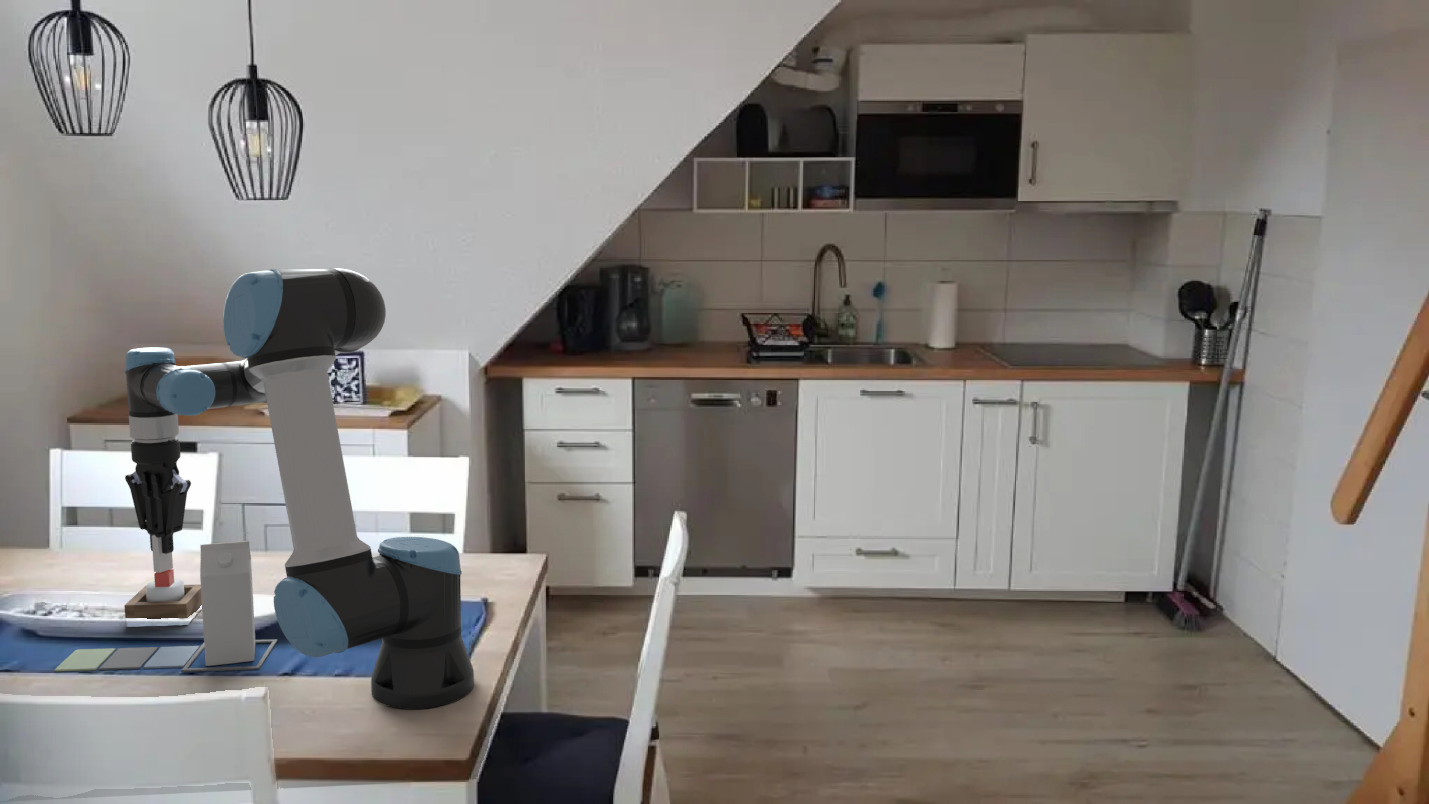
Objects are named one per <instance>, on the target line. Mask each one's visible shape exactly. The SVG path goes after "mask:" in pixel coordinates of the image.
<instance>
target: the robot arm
mask: <svg viewBox="0 0 1429 804" xmlns="http://www.w3.org/2000/svg"><path fill="white" fill-rule="evenodd" d="M386 312H387V311H386V305H385V301H384V298H383V295H382V294H381V291H380V290H379V289H378V287H377V286H376V284H374V283H373V281H372V280H371V279H369V278H368V277H366V276H365V275H362V274H361V273H359V272H356V271H353V270H351V269H346V268H345V269H344V268H338V267H337V268H334V267H333V268H317V269H316V268H311V269H310V268H305V269H304V268H302V269H301V268H300V269H299V268H297V269H296V268H294V269H293V268H291V269H288V268H286V269H285V268H284V269H275V268H271V269H267V270H259V271H251V272H246V273H244V274H242V275H240V276H239V277H238V278H236V280H235V281H234V282H233V283H232V284H231V286H230V288H229V290H228V292H227V296H226V298H225V303H224V306H223V313H222V314H223V315H222V316H223V317H222V322H223V326H222V327H223V334H224V338H225V341H226V345H227V346H229V350H230V351H231V353H232V354H234V355H235V356H238V357H240V358H242V359H243V360H236V361H226V362H218V363H208V364H207V363H206V364H205V363H204V364H196V365H195V364H193V365H186V366H185V365H180V366H179V365H177V361H176V358H175V353H174V351H173V350H172V349H171V348H169V347H151V346H150V347H140V348H132V349H130V350H129V351H127V353H126V354H125V370H124V374H125V379H126V381H125V382H126V392H127V403H128V424H129V437H130V438H132V439H133V440H131V442H130V450H131V451H130V453H131V454H130V455H131V461H132V462H133V463H135V464H136V465H135V471H134V472H133V473H130V474H126V475H125V476H124V480H125V481H126V484H127V485H128V487H129V490H130V494H131V497H132V499H131V500H132V502H133V506H134V510H135V515H136V519H137V523H138V527H139V529H140V530H145V531H146V532H147V535H149V543H150V549H151V552H152V561H153V564H152V565H153V572H154V573H156V572H159V573H161V572H164V571H167V570H170V569H174V566H173V565H174V564H173V552H174V548H175V547H174V534H175V533H178V532H180V531H182V530H183V526H184V518H185V512H186V511H185V510H186V505H187V503H186V502H187V497H188V492H189V490H190V488H191V486H192V482H191V480H190V479H185V480H184V479H183V478H182V477H181V476H180V469H179V468H178V465H177V462H178V461H179V459H180V458H181V442H180V441H181V440H180V438H179V437H178V435H179V434H180V430H179V429H180V428H179V427H180V426H179V416H187V417H188V416H190V417H194V416H198V415H200V414H203V413H204V412H206V411H207V410H211V409H221V408H227V407H228V408H229V407H234V406H243V405H253V404H260V403H261V404H266V405H267V410H268V416H269V420H270V422H269V423H270V426H271V430H272V431H271V433H272V437H273V443H274V449H275V455H276V460H277V465H278V471H279V474H280V475H279V477H280V482H281V487H282V491H283V492H282V493H283V497H284V503H285V507H286V514H287V519H288V520H287V521H288V524H289V530H290V535H291V536H290V537H291V542H292V547H293V550H292V552H291V554H290V556H289V558H288V559H287V560H286V562H285V563H284V569H285V573H286V577H284V578H283V579H282V580H280V581H279V582H278V583H277V585H276V586H275V588H274V591H273V592H274V596H273V607H274V613H275V617H276V620H277V622H278V624H279V628H280V629H281V632H282V633H283V635H284V637H285V638H286V640H287V641H288V642H289V643H290V644H291V645H292V646H293V648H294V649H295V650H296V651H298V652H299V653H301V654H303V655H305V657H309V658H320V657H324V656H328V655H332V654H342V653H343V652H345V651H347V650H349V649H352V648H355V647H359V646H361V645H365V644H368V643H371V642H375V641H377V640H381V645H380V649H379V652H378V655H377V658H376V660H375V665H374V668H373V671H372V675H371V679H370V684H371V686H370V687H371V696H372V697H373V699H374V700H375V701H377V702H378V703H380V704H382V705H384V706H387V707H390V708H391V707H393V708H395V709H396V708H397V709H407V710H408V709H409V710H410V709H411V710H412V709H413V710H415V709H416V710H418V709H429V708H436V707H441V706H444V705H448V704H451V703H453V702H456V701H459V700H460V699H462V698H464V697H466V696H467V695H469V693H470V692H471V691H472V690H473V688H474V685H475V678H474V677H475V673H474V666H473V665H472V662H471V661H472V660H471V659H470V656H469V654H468V651H467V648H466V645H465V642H464V641H463V640H464V639H463V637H462V599H461V598H462V597H461V595H462V594H461V590H462V589H461V575H462V570H461V559H460V552H459V551H458V549H457V547H456V546H455V545H454V544H452V543H451V542H447V541H445V540H442V539H437V538H432V537H431V538H430V537H424V536H423V537H422V536H421V537H420V536H398V537H397V536H395V537H390V538H386V539H384V540H382V541H381V542H380V543H379V546H378V548H377V552H378V554H379V555H377V556H374V557H373V554H372V548H371V546H370V545H369V544H367V543H366V542H364V541H362V540H361V539H360V538H359V537H358V534H357V527H356V523H355V517H354V510H353V506H352V500H351V495H350V489H349V484H348V479H347V473H346V467H345V463H344V458H343V457H344V456H343V451H342V445H341V441H340V435H339V430H338V423H337V419H336V414H335V413H336V412H335V407H334V402H333V396H332V392H331V385H330V380H329V374H328V372H329V370H330V368H331V367H332V365H333V364H334V362H335V361H336V360H337V355H339V354H351V353H354V352H356V351H358V350H360V349H362V348H363V347H365V346H366V345H368V344H369V343H372V341H374V340H375V339H376V338H377V337H378V335H379V334H380V333H381V331H382V329H383V327H384V324H385V320H386V314H387V313H386Z"/></svg>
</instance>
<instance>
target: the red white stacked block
mask: <svg viewBox="0 0 1429 804" xmlns="http://www.w3.org/2000/svg"><path fill="white" fill-rule="evenodd" d="M174 573H175V571H174V568H172V569H170V570H167V571H164V572H161V573H159V572H154V574H153V575H154V581H151V582H149V583H147V584H146V585H145V586H146V599H147V602H160V601H180V600H181V599H182V598H183V597H184V585H185V584H184V583H185V582H184V581H183V580H182V579H177V578H175V574H174Z"/></svg>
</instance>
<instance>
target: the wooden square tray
mask: <svg viewBox="0 0 1429 804" xmlns="http://www.w3.org/2000/svg"><path fill="white" fill-rule="evenodd" d="M201 605H202V597H201V583H200V584H184V597H183V598H182V599H181V600H180V601H160V602H147V599H146V585H145V586H144V587H143V588H142V589H140V590H139V591H138V592H137V593H136V594H135V595H134V596H132V597H131V599H129V601H127V602H126V603H125V604H124V606H123V607H124V618H147V619H161V618H188V617H189V616H190V615H192V614H193V613H194V612H196V611H197V610H198V609H199V608H200V606H201Z"/></svg>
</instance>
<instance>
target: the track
mask: <svg viewBox="0 0 1429 804" xmlns="http://www.w3.org/2000/svg"><path fill="white" fill-rule="evenodd" d="M277 642H278V639H255V644H263V643H264V644H268V643H269V646H268V648H267V649H266V651H265V652H264V653H263V655H262V657H261V658H260V660H259V661H258V663H257V665H251V666H249V665H248V666H246V665H245V666H224V667H223V666H219V667H217V666H216V667H193V668H191V666H192V664H193V663H194V662H195V660H196V659H197V658H198V657H199V656H200V654H201V653H202V652H203V650H205V647H204V642H203V643H201V645H179V646H176V645H175V646H160V647H158V646H152V647H151V646H150V647H149V646H148V647H120V648H117V649H116V648H115V647H114V648H113V647H111V648H84V649H83V648H82V649H75V650H74V651H73V652H72V653H70V655H69V656H67V658H65V659H64V660H63V661H62V662H61V663H60V664H59V665H58V666H56V667H55V669H54V672H77V671H78V672H79V671H80V672H81V671H82V672H83V671H97V669H98V671H108V670H109V671H111V670H139V669H141V668H143V669H169V668H170V669H173V668H176V669H177V668H181V673H186V672H188V673H189V672H190V673H191V672H192V673H193V672H215V671H216V672H219V671H224V672H225V671H245V670H246V671H247V670H249V671H250V670H252V671H253V670H254V671H255V670H260V669H261V668H262V667H263V664H264V663H265V662H266V660H267V658H268V657H269V655H270V653H271V652H272V650H273V649H274V647H275V646H276V644H277Z"/></svg>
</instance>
